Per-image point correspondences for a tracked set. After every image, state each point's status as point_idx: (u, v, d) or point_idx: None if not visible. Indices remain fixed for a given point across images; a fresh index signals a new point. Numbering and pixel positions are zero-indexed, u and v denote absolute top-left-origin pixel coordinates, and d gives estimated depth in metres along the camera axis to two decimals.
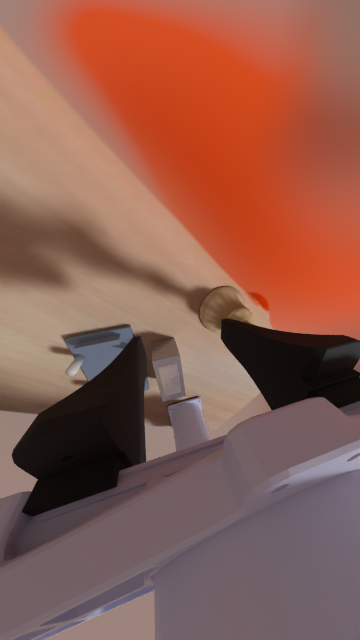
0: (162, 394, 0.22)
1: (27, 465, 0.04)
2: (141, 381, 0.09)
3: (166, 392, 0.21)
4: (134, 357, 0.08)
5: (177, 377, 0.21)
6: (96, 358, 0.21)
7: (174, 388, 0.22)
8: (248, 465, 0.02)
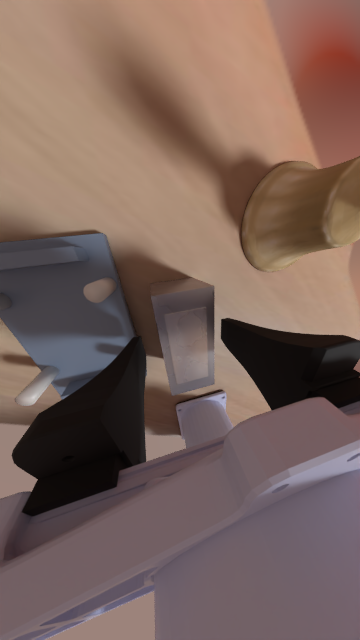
0: (171, 380, 0.11)
1: (27, 465, 0.04)
2: (141, 381, 0.09)
3: (179, 376, 0.11)
4: (134, 357, 0.08)
5: (203, 344, 0.10)
6: (37, 305, 0.10)
7: (196, 368, 0.11)
8: (248, 465, 0.02)
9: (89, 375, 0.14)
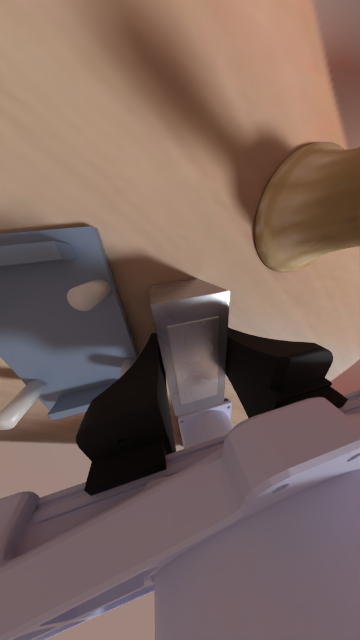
0: (175, 400, 0.09)
1: (87, 447, 0.04)
2: (164, 375, 0.09)
3: (184, 396, 0.09)
4: (159, 351, 0.08)
5: (212, 359, 0.08)
6: (17, 311, 0.09)
7: (204, 386, 0.09)
8: (248, 465, 0.02)
9: (81, 388, 0.12)
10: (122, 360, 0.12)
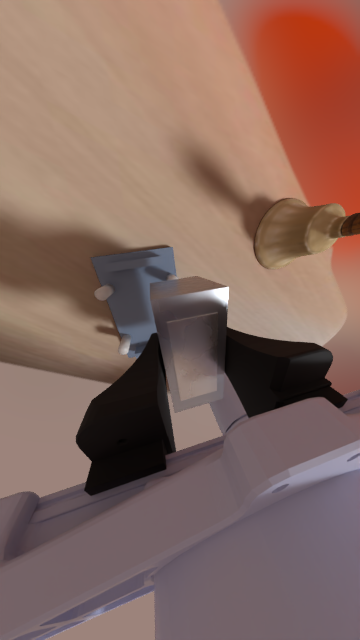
0: (175, 396, 0.09)
1: (87, 447, 0.04)
2: (164, 375, 0.09)
3: (183, 392, 0.09)
4: (159, 351, 0.08)
5: (212, 355, 0.08)
6: (128, 292, 0.16)
7: (203, 382, 0.09)
8: (248, 465, 0.02)
9: None
10: None
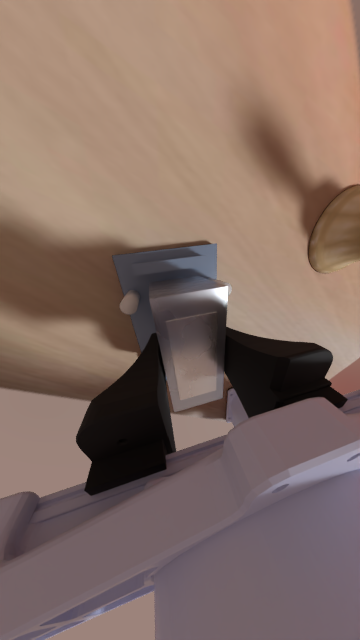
0: (174, 395, 0.09)
1: (87, 447, 0.04)
2: (164, 375, 0.09)
3: (183, 391, 0.09)
4: (159, 351, 0.08)
5: (211, 354, 0.08)
6: None
7: (203, 382, 0.09)
8: (248, 465, 0.02)
9: None
10: None
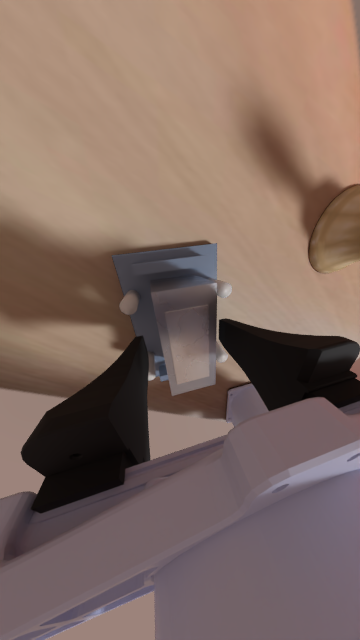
0: (172, 380, 0.11)
1: (36, 463, 0.04)
2: (144, 380, 0.09)
3: (179, 376, 0.10)
4: (138, 356, 0.08)
5: (204, 343, 0.10)
6: None
7: (197, 368, 0.11)
8: (248, 465, 0.02)
9: None
10: None
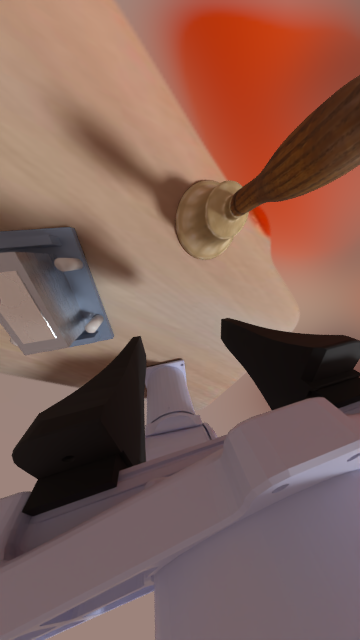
0: (16, 339, 0.13)
1: (27, 465, 0.04)
2: (141, 381, 0.09)
3: (21, 336, 0.12)
4: (134, 357, 0.08)
5: (33, 306, 0.12)
6: None
7: (37, 329, 0.13)
8: (248, 465, 0.02)
9: None
10: (94, 316, 0.18)
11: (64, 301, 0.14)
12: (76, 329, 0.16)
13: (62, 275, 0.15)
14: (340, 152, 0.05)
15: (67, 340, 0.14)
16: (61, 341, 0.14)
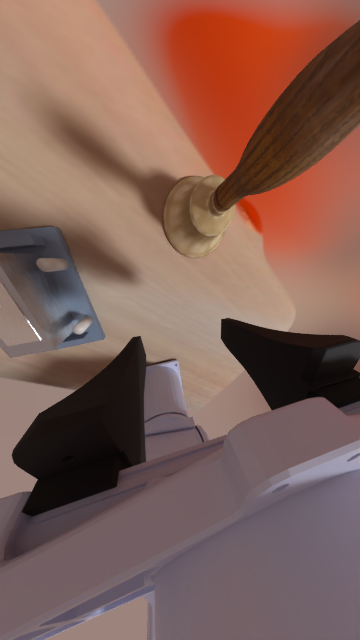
0: None
1: (27, 465, 0.04)
2: (141, 381, 0.09)
3: (5, 338, 0.12)
4: (134, 357, 0.08)
5: (15, 307, 0.12)
6: None
7: (21, 331, 0.12)
8: (248, 465, 0.02)
9: None
10: (83, 316, 0.18)
11: (49, 302, 0.14)
12: (64, 330, 0.15)
13: (48, 276, 0.15)
14: (308, 136, 0.04)
15: (53, 342, 0.14)
16: (46, 343, 0.13)
